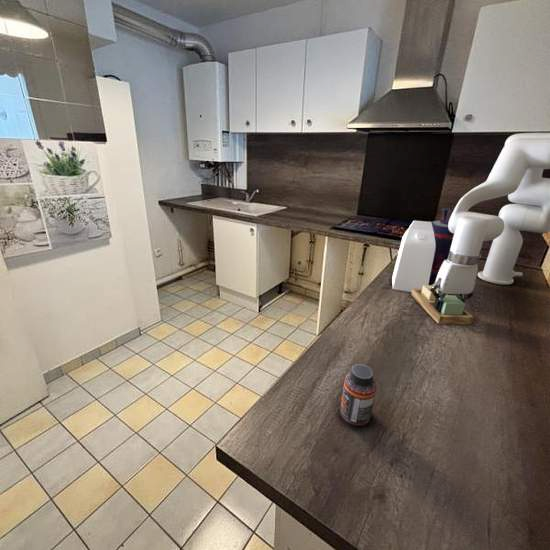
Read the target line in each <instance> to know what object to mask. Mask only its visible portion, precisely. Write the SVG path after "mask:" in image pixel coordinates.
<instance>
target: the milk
mask: <svg viewBox="0 0 550 550" xmlns="http://www.w3.org/2000/svg"><path fill="white" fill-rule="evenodd" d="M431 222H432V221H425V220H424V221H423V220H413V221H412V222H411V224H410V225H409V227H408V228H407V229H406V230H405V232H404V233H403V235H402V237H401V242H400V244H399V249H398V253H397V257H396V261H395V265H394V269H393V272H392V277H391V283H392V290H395V291H400V292H401V291H402V292H409V293H412V289H422V287H423V285H430V284H429V283H430V282H429V279H430V274H431V269H432V263H433V258H434V253H435V247H436V245H435V237H434V231H433V227H432V223H431Z"/></svg>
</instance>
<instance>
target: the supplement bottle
mask: <svg viewBox="0 0 550 550" xmlns="http://www.w3.org/2000/svg"><path fill="white" fill-rule="evenodd" d="M374 374H375V373H374V370H373V369H372V367H370V366H369V365H366V364H363V363H356V364H354V365H352V367H351V369H350V372H348V373H347V374H346V375H345V377H344V380H343V381H344V382H343V388H342V395H341V400H340V409H339V410H340V415H341V417H342V418H343V420H344V421H345V422H346V423H348V424H350V425H352V426H355V427H361V426H365V425H366V424H368V423H369V422H370V420H371V417H372V411H373V408H374V403H375V399H376V393H377V382H376V379H375V378H374Z"/></svg>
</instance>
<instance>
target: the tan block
mask: <svg viewBox="0 0 550 550" xmlns="http://www.w3.org/2000/svg"><path fill="white" fill-rule="evenodd" d="M431 285H432V284H431ZM431 285H430V284H428V285H423V287H422V292H421V295H422V296H423V297H424V298H425V299H426V300H427V301H435V299H436V297H435V296H434V295H433V294H432V293H431V291H430V290H429V289H428V288H429V287H430V286H431ZM438 290H439V288H437V289H436V292H437V291H438ZM441 294H442V293H441ZM446 295H449V294H446Z"/></svg>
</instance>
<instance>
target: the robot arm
mask: <svg viewBox="0 0 550 550" xmlns="http://www.w3.org/2000/svg"><path fill="white" fill-rule="evenodd" d="M544 170H550V132H522V133H521V132H520V133H515V134H512V135H510V136H508V137H507V138H506V139H505V142H504V146H503V148H502V149H501V151H500V153H499V155H498V157H497V159H496V160H495V163H494V165H493V167H492V169H491V171H490V173H489V175H488V177H487V178H486V180H485V181H484V182H482V183H481V184H479V185H477V186H475V187H473V188H472V189H471V190H469V191H468V192H466V193H465V194H464V195H463V196H462V197H461V198H460V199H459V200H458V202H457V203H456V205H455V207H454V208H455V209H454V211H453V213H452V215H451V217H450V220H449V223H448V229H449V231H450V232H452V233H453V234H454V237H453V241H452V244H451V248H450V252H449V256H448V259H447V260H444V262H443V264H442V265H441V268H440V270H439V272H438V275H437V278H436V281H435V283H432V284H431V286H430V287H429V288H428V289H429V290H430V291H431V293H432V294H433V295H434V296H435V297H436V299H435V303H434V308H435V309H436V310H437V311H438V312H441V309H442V306H443V301H442V300H443V299H444V297H445V296H446V294H448V295H458V296H456V297H457V298H459V299H460V300H461V301H462V302H464V303H465V304H466V303H467V302H468V301H469V299H470V298H472V297H473V296H474V295H475V294H477V293H479V291H480V289H479V288H478V287H477V285H476V281H477V277H478V278H479V279H481V280H483V281H485V282H489V283H492V284H496V285H506V286H508V285H512V284H514V281H515V280H514V278H515V277H518V278H520V277H523V275H524V274H523V272H522V271H515V270H514V268H515V265H516V262H517V260H518V257H519V254H520V252H521V249H522V246H523V242H524V239H523V235H522V234H521V231H523V232H524V231H525V232H531V233H535V234H547V233H550V177H549V178H548V177H543V172H544ZM506 196H507V200H508V201H509V202H510V203H509V204H506V205H503V206H502V207H501V208H500V210H499V212H498V215H493V214H486V213H481V212H474V211H469V210H470V209H471V208H472V207H473V206H475V205H477V204H479V203H481V202H485V201H488V200H493V199H496V198H497V199H498V198H501V197H506ZM489 241H490V242H491V241H492V242H491V245H490V248H489V251H488V255H487V257H486V261H485V264H484V267H483V270H481V271H478V265H479V264H478V263H477V262H478V260H482V255H481V254H480V253H481V250H482V247H483V243H484V242H489ZM437 288H439V290H438V291H437V292H436V289H437ZM441 293H442V294H441Z"/></svg>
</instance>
